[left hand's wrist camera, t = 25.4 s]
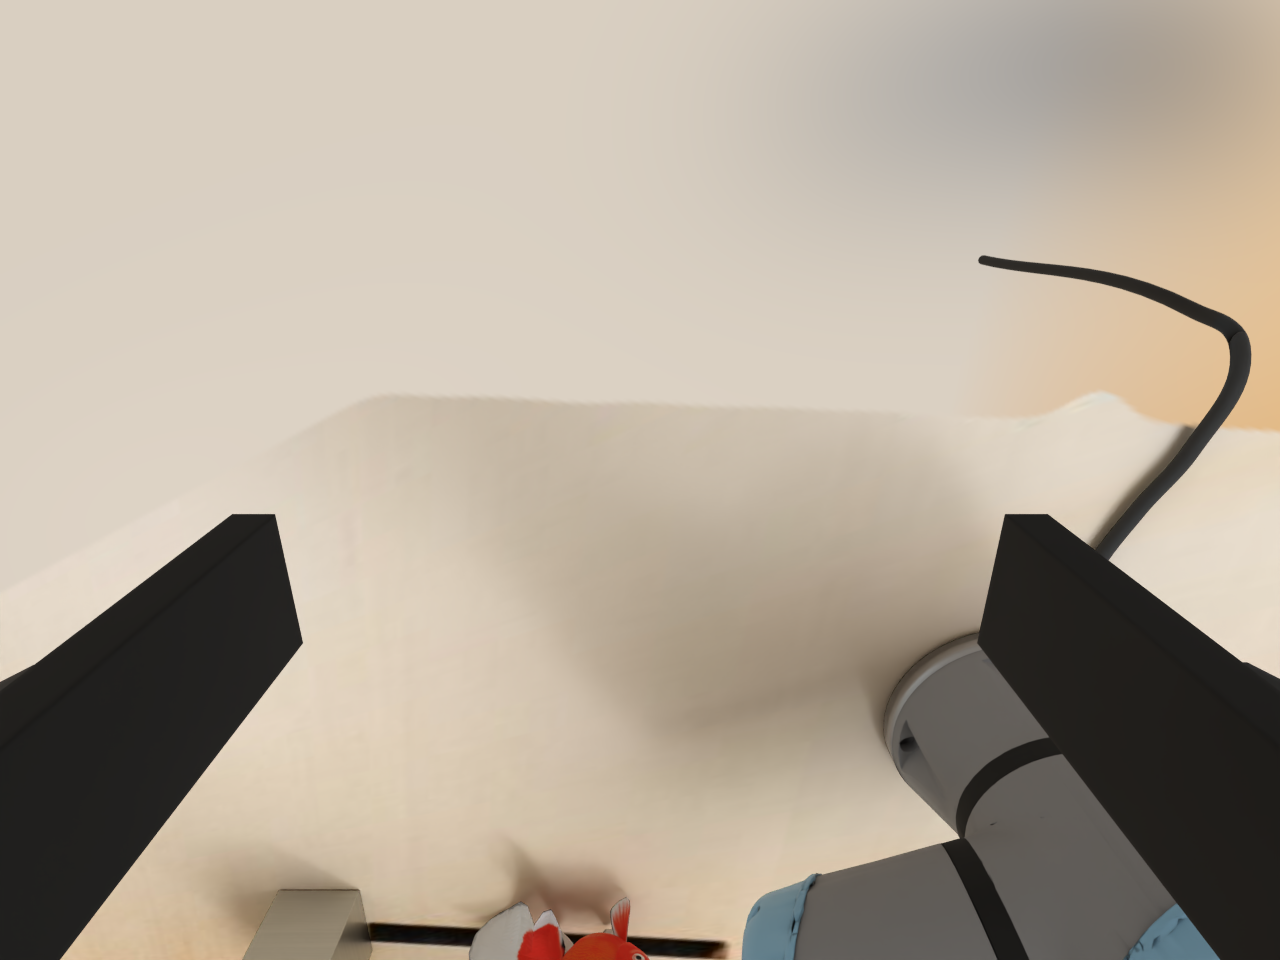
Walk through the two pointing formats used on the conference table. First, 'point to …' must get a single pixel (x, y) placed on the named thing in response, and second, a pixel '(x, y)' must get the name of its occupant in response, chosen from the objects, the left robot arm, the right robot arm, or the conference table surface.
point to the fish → (551, 938)
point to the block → (312, 927)
